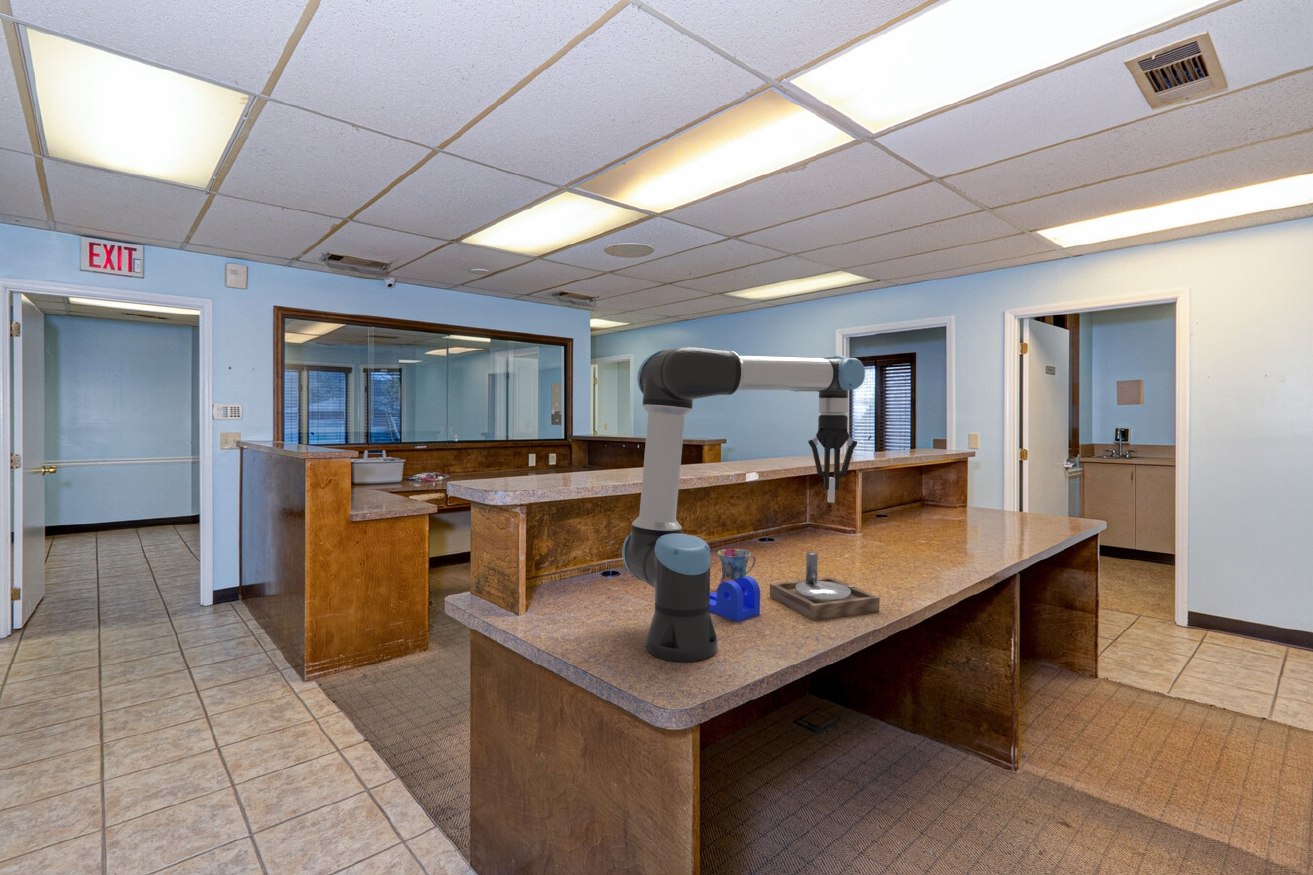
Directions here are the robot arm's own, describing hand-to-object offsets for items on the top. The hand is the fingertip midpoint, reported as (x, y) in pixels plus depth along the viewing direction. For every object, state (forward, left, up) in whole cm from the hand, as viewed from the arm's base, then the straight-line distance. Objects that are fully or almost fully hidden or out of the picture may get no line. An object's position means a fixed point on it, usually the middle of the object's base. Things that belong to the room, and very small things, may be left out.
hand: (831, 501), depth 164 cm
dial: (-4, -3, -24) cm, 25 cm away
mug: (-19, +16, -27) cm, 37 cm away
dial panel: (-4, -3, -26) cm, 27 cm away
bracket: (-31, +2, -27) cm, 41 cm away
